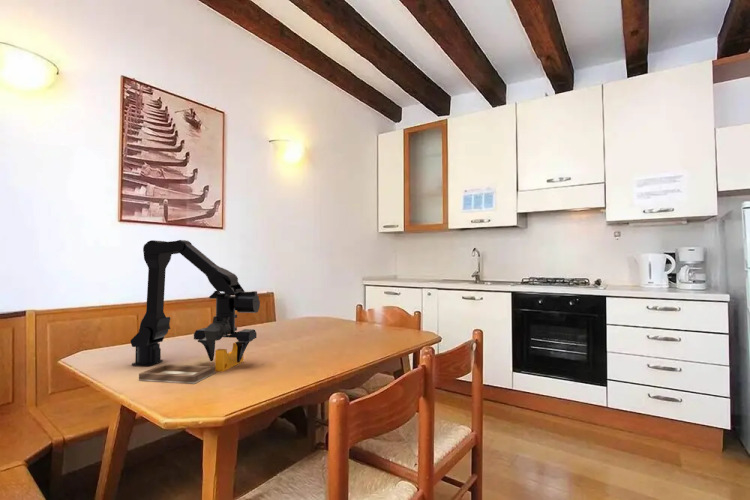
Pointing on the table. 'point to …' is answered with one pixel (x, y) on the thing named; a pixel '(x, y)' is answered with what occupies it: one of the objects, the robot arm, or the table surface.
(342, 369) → the table surface
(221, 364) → the pipe clamp
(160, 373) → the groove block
